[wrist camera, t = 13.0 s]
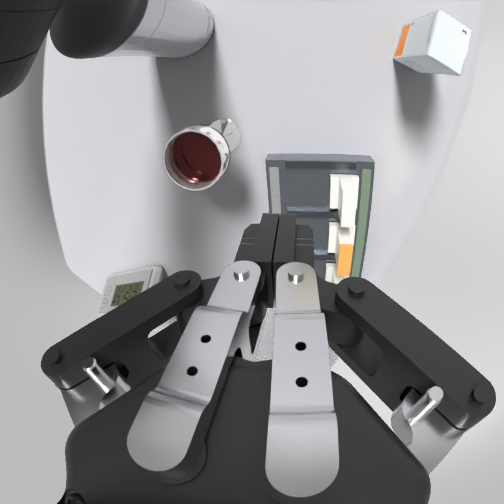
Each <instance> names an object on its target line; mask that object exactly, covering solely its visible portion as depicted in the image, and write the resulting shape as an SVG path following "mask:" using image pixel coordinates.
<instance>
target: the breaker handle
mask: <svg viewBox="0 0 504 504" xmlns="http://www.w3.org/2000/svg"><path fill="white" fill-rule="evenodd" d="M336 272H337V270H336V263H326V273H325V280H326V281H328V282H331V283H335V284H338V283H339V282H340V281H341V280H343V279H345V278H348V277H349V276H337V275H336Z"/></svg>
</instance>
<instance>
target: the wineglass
mask: <svg viewBox="0 0 504 504" xmlns="http://www.w3.org/2000/svg"><path fill="white" fill-rule="evenodd" d="M240 141H241V132H240V130H239V127H238V126H237V125H236V124H235V123H234V122H232V121H230V120H227V119H219V120H216V121H214V122H213V123H212V124H211V125H210V126H206V125H193V126H189V127H187V128H185V129H183V130H181V131H180V132H178V133H176V134H175V135H173V136H172V137H171V138H170V139H169V140H168V142H167V143H166V146H165V148H164V150H163V164H164V168H165V170H166V172H167V174H168V176H169V177H170V178H171V179H172V181H173V182H174V183H175V184H177V185H179V186H180V187H182V188H184V189H188V190H192V191H197V190H204V189H206V188H209V187H211V186H212V185H213V184H214V183H215V182H217V181H218V179H219V178H220V177H221V176H222V175H223V174H224V172H225V171H226V169H227V167H228V165H229V161H230V152H231V151H233V150H234V149H236V148H237V147H238V145H239V143H240Z"/></svg>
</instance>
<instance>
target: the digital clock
mask: <svg viewBox="0 0 504 504" xmlns="http://www.w3.org/2000/svg"><path fill="white" fill-rule="evenodd" d="M162 278H163V268H162V267H161V266H150V267H144V268H139V269H135V270H130V271H125V272H120V273H115V274H111V275H109V276H108V278H107V280H106V283H105V286H104V289H103V293H102V296H101V299H100V303H99V306H98V310H97V319H98V318H99V317H101V316H103V315H104V314H106V313H108V312H109V311H111V310H113V309H114V308H116V307H118V306H119V305H121V304H123V303H125V302H126V301H128V300H130V299H131V298H133V297H135V296H136V295H138V294H140V293H142V292H143V291H145V290H147V289H148V288H150V287H152V286H154V285H155V284H157V283H159V282H160V281H162Z"/></svg>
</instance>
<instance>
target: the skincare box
mask: <svg viewBox="0 0 504 504" xmlns="http://www.w3.org/2000/svg"><path fill="white" fill-rule="evenodd" d="M471 34H472V30H470V29H469V28H467V27H466V26H464V25H463V24H461V23H460V22H458V21H457V20H455V19H454V18H452V17H451V16H449V15H447V14H446V13H444V12H442V11H441V10H437V11H434V12H431V13H429V14H427V15H424V16H422V17H419V18H417V19H415V20H413V21H410V22H408V23H406V24H404V25H403V27H402V31H401V34H400V38H399V42H398V45H397V48H396V51H395V54H394V57H393V59H394V60H396V61H398V62H400V63H402V64H404V65H406V66H407V67H409V68H411V69H413V70H415V71H417V72H419V73H435V74H447V75H456V76H460V75H461V72H462V69H463V66H464V62H465V59H466V57H467V54H468V48H469V43H470V39H471Z"/></svg>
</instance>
